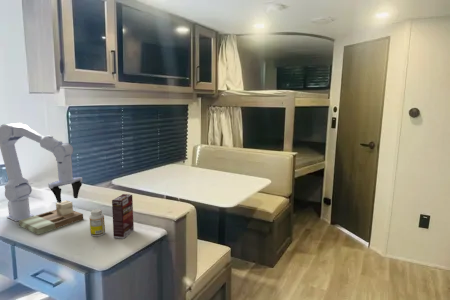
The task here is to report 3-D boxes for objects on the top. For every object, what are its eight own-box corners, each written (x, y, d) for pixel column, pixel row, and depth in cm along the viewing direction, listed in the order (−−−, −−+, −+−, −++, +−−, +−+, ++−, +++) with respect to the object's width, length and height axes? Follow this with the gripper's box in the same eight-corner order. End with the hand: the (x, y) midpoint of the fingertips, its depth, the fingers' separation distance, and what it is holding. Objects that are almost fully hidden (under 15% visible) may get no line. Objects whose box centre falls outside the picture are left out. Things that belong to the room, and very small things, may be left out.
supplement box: (124, 239, 124) (122, 201, 122) (113, 238, 125) (110, 200, 123) (134, 230, 133) (132, 194, 130) (124, 229, 134) (122, 193, 131)
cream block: (56, 213, 145) (55, 203, 144) (67, 210, 149) (66, 200, 148) (62, 215, 142) (61, 205, 141) (73, 212, 146) (72, 202, 145)
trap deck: (19, 225, 137) (19, 220, 137) (64, 212, 154) (63, 207, 153) (38, 234, 129) (37, 228, 128) (83, 219, 145) (82, 213, 144)
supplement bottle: (97, 230, 133) (96, 207, 131) (108, 232, 131) (106, 209, 129) (87, 235, 127) (85, 211, 126) (98, 238, 125) (96, 213, 124)
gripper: (53, 175, 131) (56, 206, 134) (85, 169, 143) (87, 197, 145) (44, 173, 135) (47, 203, 138) (76, 167, 147) (79, 194, 149)
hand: (67, 200), depth 142 cm, fingers open, 7 cm apart
